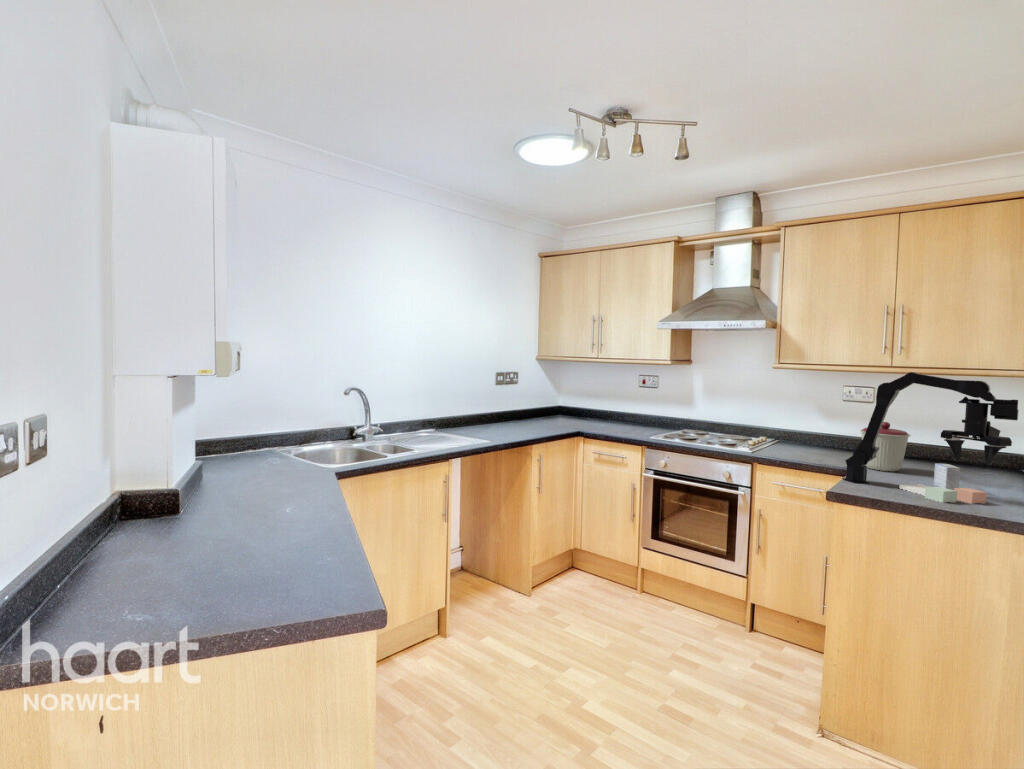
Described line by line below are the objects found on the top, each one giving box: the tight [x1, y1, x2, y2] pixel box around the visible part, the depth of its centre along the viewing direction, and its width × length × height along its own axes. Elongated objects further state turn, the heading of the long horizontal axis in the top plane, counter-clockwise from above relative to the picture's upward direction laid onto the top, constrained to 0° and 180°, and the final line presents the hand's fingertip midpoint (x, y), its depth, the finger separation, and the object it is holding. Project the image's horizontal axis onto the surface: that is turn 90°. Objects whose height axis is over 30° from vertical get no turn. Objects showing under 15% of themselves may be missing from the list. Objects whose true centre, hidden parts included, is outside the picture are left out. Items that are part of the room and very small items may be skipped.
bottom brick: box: [954, 487, 988, 504], centre depth 180 cm, size 6×6×4 cm
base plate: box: [898, 483, 930, 497], centre depth 191 cm, size 10×10×2 cm
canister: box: [859, 421, 911, 473], centre depth 231 cm, size 18×18×21 cm
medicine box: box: [933, 463, 961, 490], centre depth 199 cm, size 8×4×9 cm, turn 168°
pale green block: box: [924, 486, 958, 504], centre depth 180 cm, size 6×6×4 cm
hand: (972, 462), depth 180 cm, fingers open, 9 cm apart
